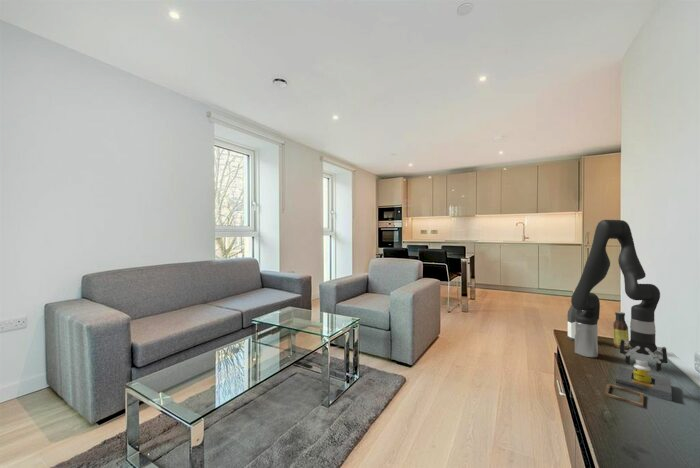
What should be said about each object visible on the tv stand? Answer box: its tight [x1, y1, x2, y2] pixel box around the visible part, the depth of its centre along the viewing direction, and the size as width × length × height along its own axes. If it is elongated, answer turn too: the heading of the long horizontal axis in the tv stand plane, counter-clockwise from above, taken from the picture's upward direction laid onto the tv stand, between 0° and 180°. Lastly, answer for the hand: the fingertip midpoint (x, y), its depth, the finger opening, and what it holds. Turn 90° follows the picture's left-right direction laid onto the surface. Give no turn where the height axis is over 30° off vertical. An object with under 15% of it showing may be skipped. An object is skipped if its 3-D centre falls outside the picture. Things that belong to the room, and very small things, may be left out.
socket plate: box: [615, 366, 673, 402], centre depth 123 cm, size 16×16×3 cm
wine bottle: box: [567, 289, 583, 342], centre depth 175 cm, size 8×8×30 cm
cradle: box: [603, 383, 645, 408], centre depth 116 cm, size 11×11×1 cm
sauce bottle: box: [612, 311, 630, 350], centre depth 163 cm, size 7×6×20 cm
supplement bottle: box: [632, 357, 652, 384], centre depth 123 cm, size 5×5×10 cm
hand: (642, 367), depth 123 cm, fingers open, 8 cm apart
